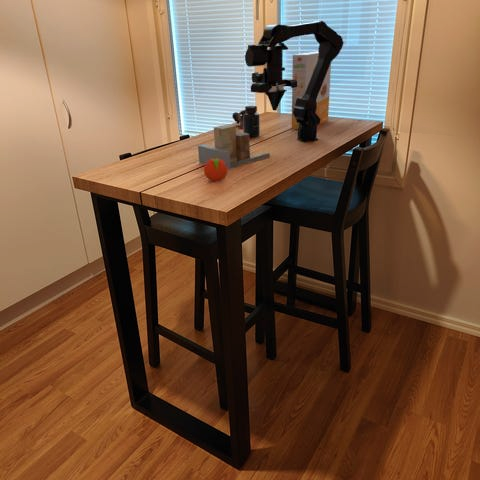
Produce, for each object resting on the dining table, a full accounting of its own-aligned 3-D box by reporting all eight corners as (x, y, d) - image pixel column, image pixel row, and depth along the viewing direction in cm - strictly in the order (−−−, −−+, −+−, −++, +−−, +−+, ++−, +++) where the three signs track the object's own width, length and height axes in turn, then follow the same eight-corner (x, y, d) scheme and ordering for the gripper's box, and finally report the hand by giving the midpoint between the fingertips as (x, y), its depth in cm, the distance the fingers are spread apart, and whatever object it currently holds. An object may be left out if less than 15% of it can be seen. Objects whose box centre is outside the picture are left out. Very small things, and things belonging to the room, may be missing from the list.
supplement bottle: (258, 138, 175) (257, 107, 170) (242, 137, 176) (240, 107, 171) (261, 134, 181) (260, 104, 176) (245, 134, 182) (244, 105, 177)
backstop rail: (245, 150, 158) (244, 134, 155) (272, 157, 149) (272, 139, 146) (199, 162, 146) (197, 145, 143) (225, 170, 136) (224, 152, 134)
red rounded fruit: (230, 184, 124) (229, 160, 121) (207, 187, 123) (205, 163, 120) (225, 176, 131) (224, 153, 128) (203, 178, 130) (201, 156, 127)
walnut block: (232, 155, 152) (231, 130, 148) (250, 160, 145) (249, 133, 141) (224, 158, 149) (222, 132, 145) (241, 163, 143) (240, 136, 139)
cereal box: (316, 119, 204) (318, 51, 190) (328, 121, 200) (331, 51, 187) (291, 129, 188) (292, 54, 174) (304, 130, 184) (306, 54, 171)
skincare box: (223, 166, 141) (221, 129, 135) (215, 163, 144) (212, 127, 138) (238, 161, 144) (236, 125, 139) (230, 159, 147) (227, 123, 142)
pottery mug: (259, 125, 201) (259, 111, 194) (250, 138, 196) (251, 124, 189) (236, 117, 203) (235, 103, 196) (227, 130, 199) (226, 116, 192)
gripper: (276, 61, 161) (276, 104, 168) (239, 66, 150) (241, 111, 157) (298, 62, 154) (297, 107, 161) (261, 67, 143) (262, 115, 150)
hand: (274, 110), depth 157 cm, fingers closed
